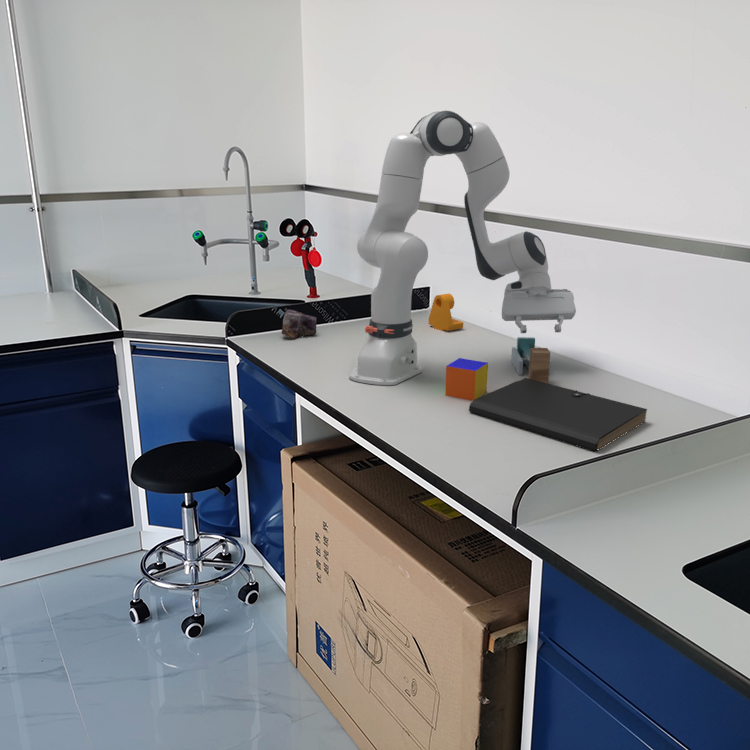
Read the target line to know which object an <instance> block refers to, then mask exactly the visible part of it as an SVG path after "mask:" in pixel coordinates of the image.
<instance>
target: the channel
mask: <svg viewBox="0 0 750 750" xmlns="http://www.w3.org/2000/svg"><path fill="white" fill-rule="evenodd" d="M510 358H511V359H510V361H511V363H512V365H513V367H514V369H515V371H516V373H517V375H518V376H523V368H524V367H527V366H526V364H525V362H524V360H523V359H522V358H521V357H520V355H519V353H518V351H517V347H514V346H512V347H511V356H510ZM550 371H551V365H550V366H549V376H550V375H551V374H550V373H551V372H550Z"/></svg>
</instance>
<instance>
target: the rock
mask: <svg viewBox="0 0 750 750" xmlns="http://www.w3.org/2000/svg"><path fill="white" fill-rule="evenodd" d="M316 334H317V317H316V316H313V315H309V314H305V313H302V312H299V311H297V310H294V309H287V310H286V311H285V312H284V315H283V319H282V328H281V335H283V336H285V337H287V338H290V339H293V340H294V339H296V338H299V337H300V338H301V337H302V338H303V337H305V336H313V335H315V336H316Z"/></svg>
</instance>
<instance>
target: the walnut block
mask: <svg viewBox="0 0 750 750" xmlns="http://www.w3.org/2000/svg"><path fill="white" fill-rule="evenodd" d="M549 366H550V367H551V351H550V349H549V348H548V347H535V348H530V360H529V369H528V377H527V378H528V379H532V380H536V381H540V382H544V383H548V384H549V376H550V375H549Z"/></svg>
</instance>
